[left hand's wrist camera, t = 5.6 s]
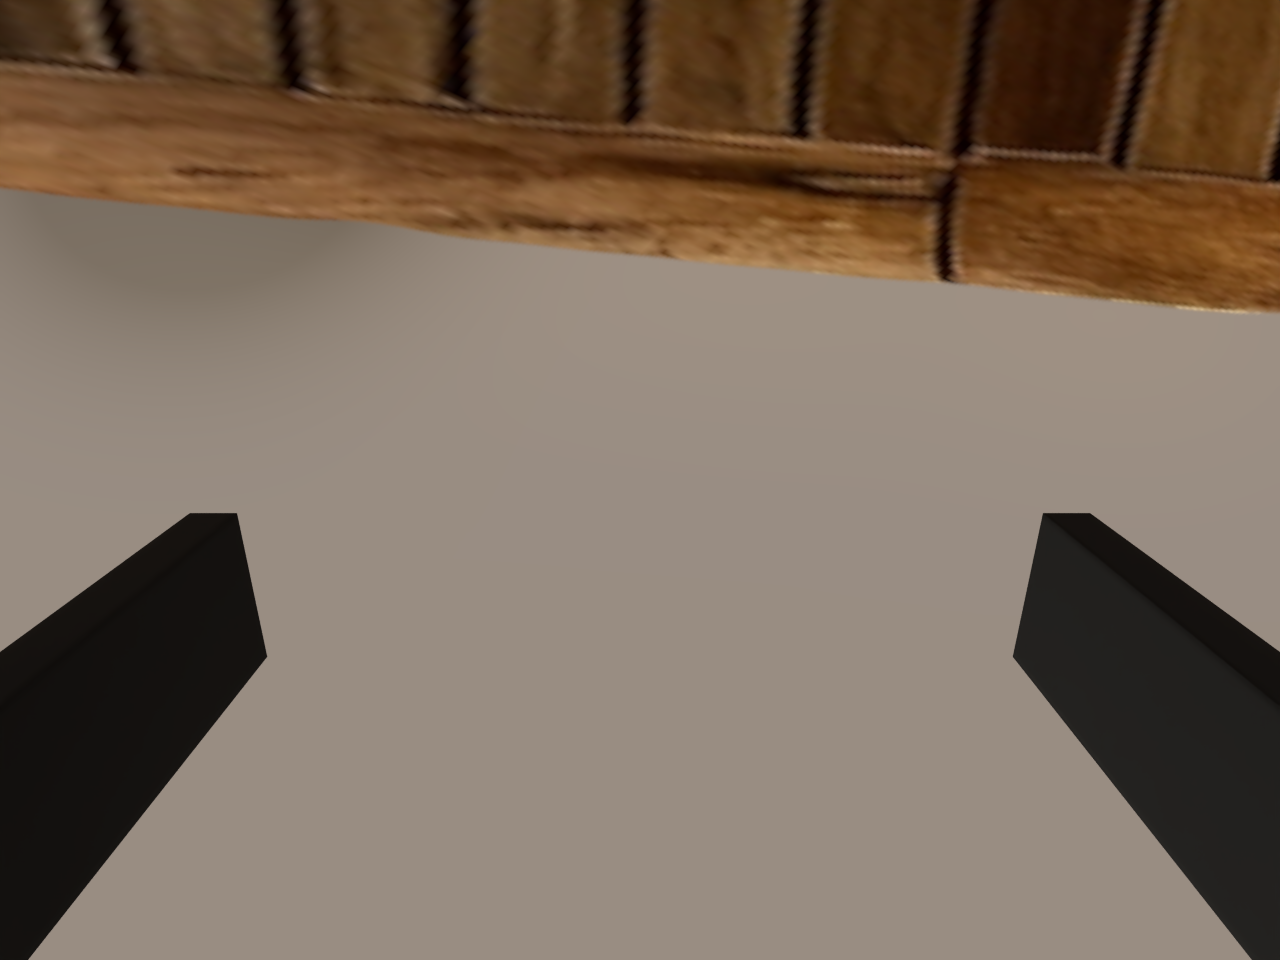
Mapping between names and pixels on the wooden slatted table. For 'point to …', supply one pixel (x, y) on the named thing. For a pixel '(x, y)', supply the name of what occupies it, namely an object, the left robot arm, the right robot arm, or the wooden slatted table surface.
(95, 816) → the left robot arm
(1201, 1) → the wooden slatted table surface
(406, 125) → the wooden slatted table surface
